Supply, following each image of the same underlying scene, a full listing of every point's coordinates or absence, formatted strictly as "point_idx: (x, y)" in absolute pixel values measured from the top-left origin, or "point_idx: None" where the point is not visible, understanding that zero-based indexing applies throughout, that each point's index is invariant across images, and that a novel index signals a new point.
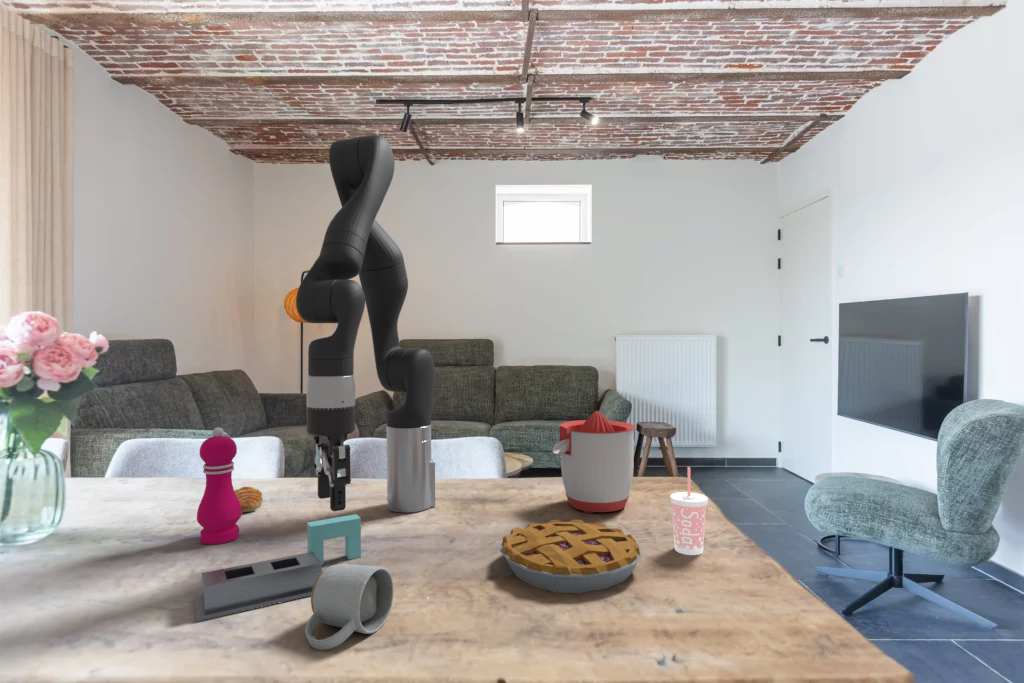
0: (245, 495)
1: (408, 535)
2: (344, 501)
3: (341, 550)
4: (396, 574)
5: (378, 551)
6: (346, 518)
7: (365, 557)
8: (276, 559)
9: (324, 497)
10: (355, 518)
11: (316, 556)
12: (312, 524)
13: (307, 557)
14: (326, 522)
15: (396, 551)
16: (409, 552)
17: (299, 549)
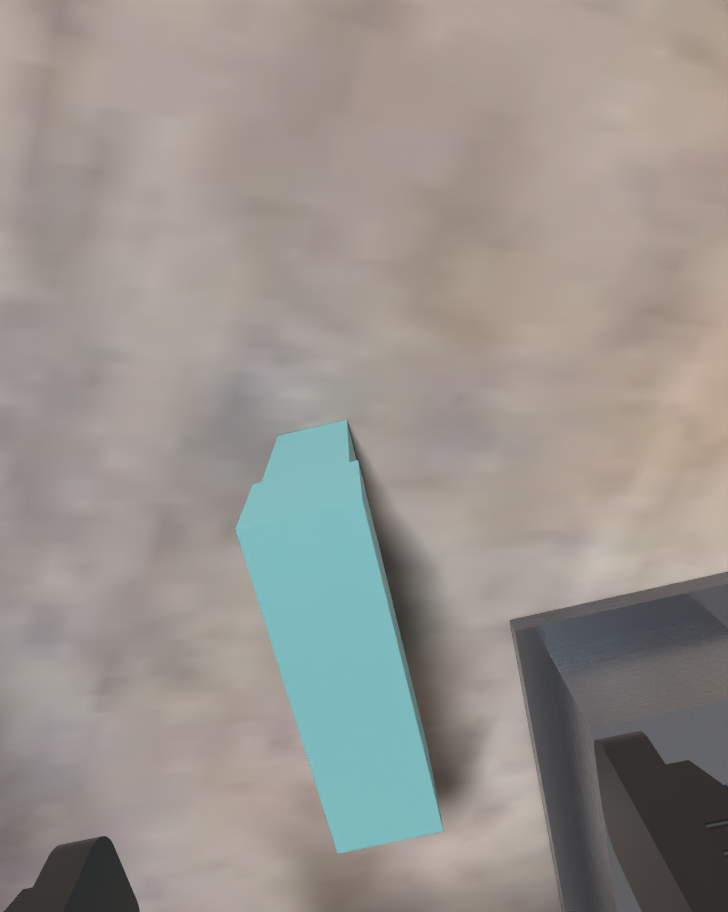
0: None
1: (12, 56)
2: (680, 792)
3: (204, 517)
4: (676, 245)
5: (282, 311)
6: (333, 609)
7: (357, 394)
8: (622, 877)
9: (128, 888)
10: (357, 542)
11: (676, 713)
12: (398, 822)
13: (665, 752)
14: (383, 741)
15: (317, 195)
16: (362, 108)
17: (132, 713)
